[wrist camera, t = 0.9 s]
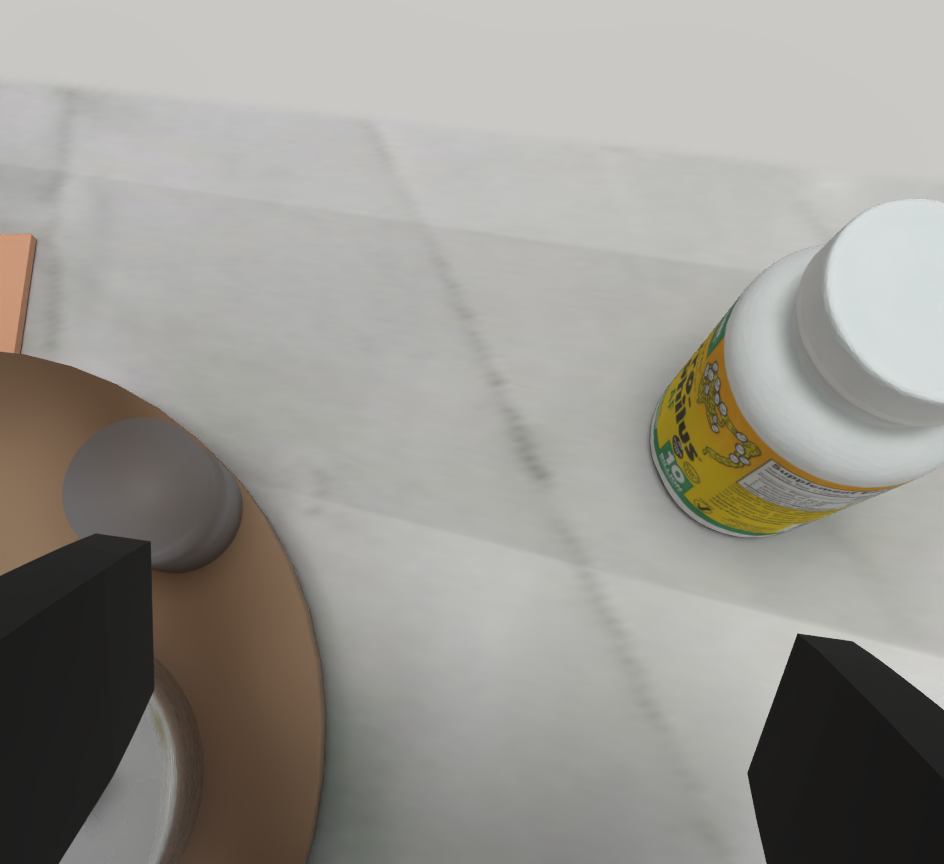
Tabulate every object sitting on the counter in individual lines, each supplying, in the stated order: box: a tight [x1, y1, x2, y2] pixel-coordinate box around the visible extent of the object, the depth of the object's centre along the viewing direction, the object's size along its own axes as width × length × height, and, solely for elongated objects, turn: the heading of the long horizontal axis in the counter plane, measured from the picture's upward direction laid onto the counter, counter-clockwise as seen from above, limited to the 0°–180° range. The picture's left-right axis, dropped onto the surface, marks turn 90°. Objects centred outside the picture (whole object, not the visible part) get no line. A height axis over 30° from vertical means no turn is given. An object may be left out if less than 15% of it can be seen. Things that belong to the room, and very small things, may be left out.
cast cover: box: [59, 657, 204, 864], centre depth 16 cm, size 7×7×3 cm
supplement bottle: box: [650, 199, 944, 537], centre depth 18 cm, size 5×5×10 cm
